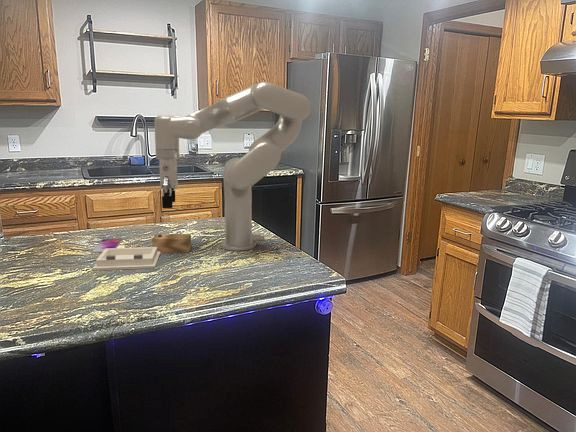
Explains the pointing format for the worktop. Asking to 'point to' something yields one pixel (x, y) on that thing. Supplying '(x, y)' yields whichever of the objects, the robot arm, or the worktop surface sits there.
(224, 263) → the worktop surface
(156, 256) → the cabinet frame
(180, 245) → the door panel
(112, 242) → the smartphone
